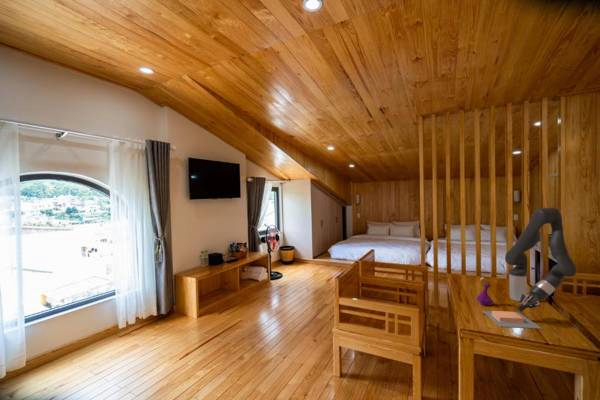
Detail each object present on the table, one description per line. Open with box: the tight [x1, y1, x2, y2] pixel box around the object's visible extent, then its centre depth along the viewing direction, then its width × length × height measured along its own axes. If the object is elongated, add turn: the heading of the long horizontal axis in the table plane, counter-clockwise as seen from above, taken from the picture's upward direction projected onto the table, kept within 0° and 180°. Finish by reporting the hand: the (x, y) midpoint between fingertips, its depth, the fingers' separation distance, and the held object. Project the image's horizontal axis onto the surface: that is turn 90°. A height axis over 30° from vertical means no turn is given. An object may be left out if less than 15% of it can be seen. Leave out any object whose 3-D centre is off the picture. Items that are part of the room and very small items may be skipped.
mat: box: [482, 310, 543, 330], centre depth 153 cm, size 20×20×1 cm
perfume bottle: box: [476, 276, 494, 307], centre depth 176 cm, size 8×8×18 cm
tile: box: [492, 310, 524, 323], centre depth 153 cm, size 9×2×12 cm
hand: (518, 310), depth 152 cm, fingers closed
